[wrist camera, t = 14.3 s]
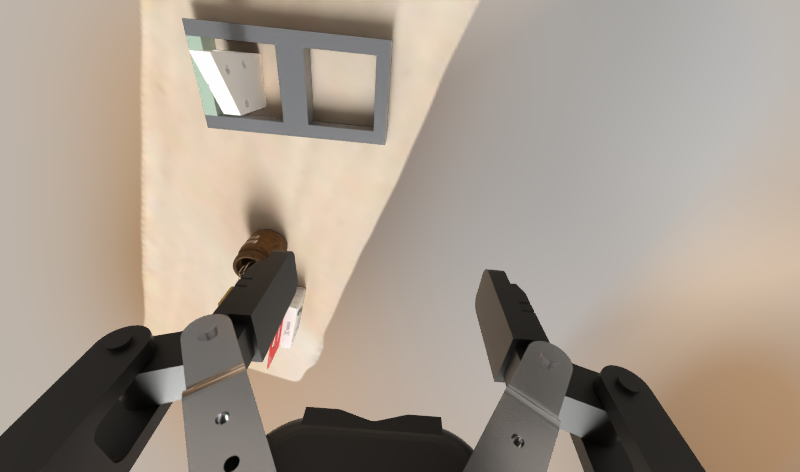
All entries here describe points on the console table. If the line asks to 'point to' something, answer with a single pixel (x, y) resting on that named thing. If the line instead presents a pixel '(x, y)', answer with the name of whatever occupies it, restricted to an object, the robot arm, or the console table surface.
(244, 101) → the white wedge bracket
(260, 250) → the utensil holder
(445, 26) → the console table surface
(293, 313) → the ink cartridge box
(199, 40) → the port panel
